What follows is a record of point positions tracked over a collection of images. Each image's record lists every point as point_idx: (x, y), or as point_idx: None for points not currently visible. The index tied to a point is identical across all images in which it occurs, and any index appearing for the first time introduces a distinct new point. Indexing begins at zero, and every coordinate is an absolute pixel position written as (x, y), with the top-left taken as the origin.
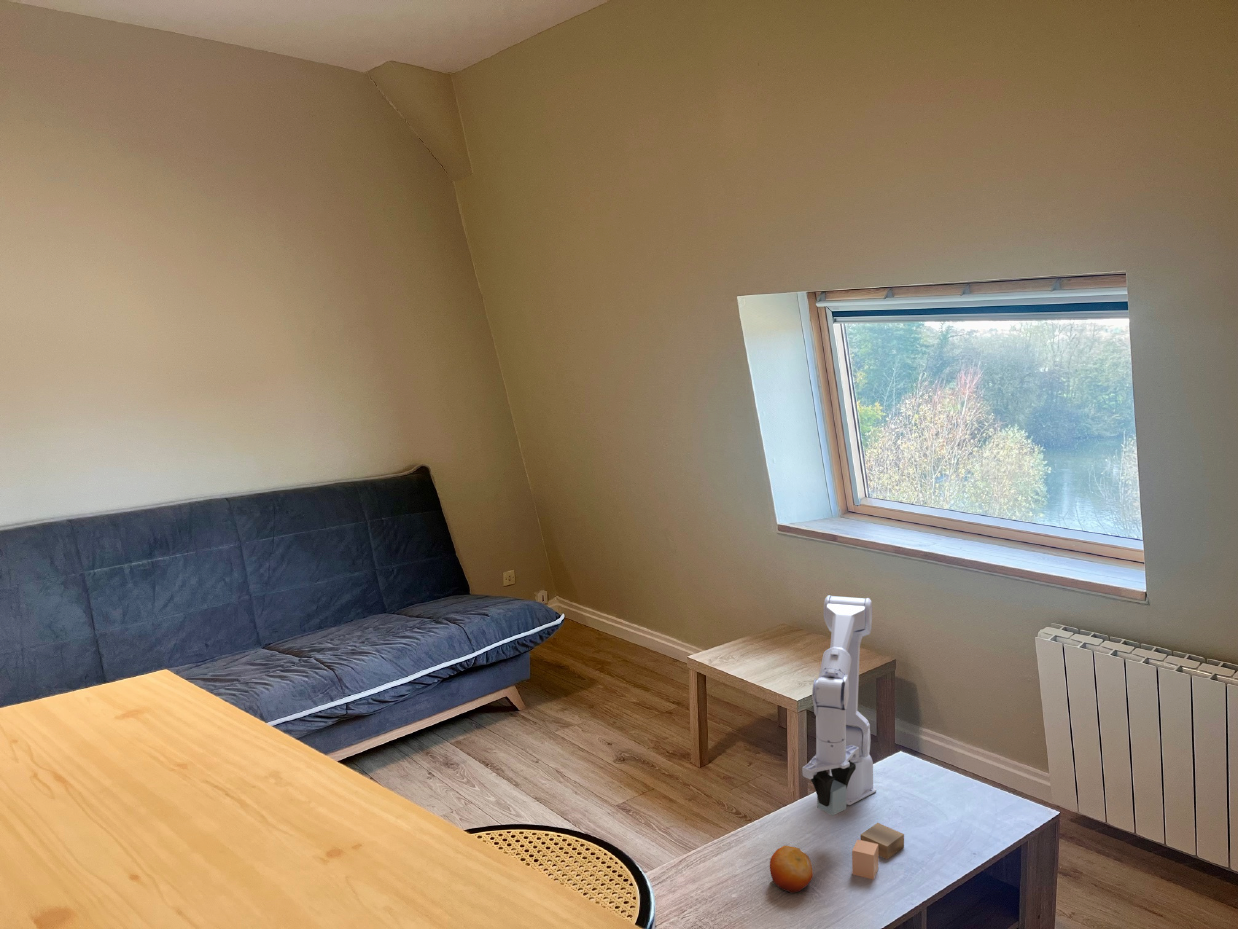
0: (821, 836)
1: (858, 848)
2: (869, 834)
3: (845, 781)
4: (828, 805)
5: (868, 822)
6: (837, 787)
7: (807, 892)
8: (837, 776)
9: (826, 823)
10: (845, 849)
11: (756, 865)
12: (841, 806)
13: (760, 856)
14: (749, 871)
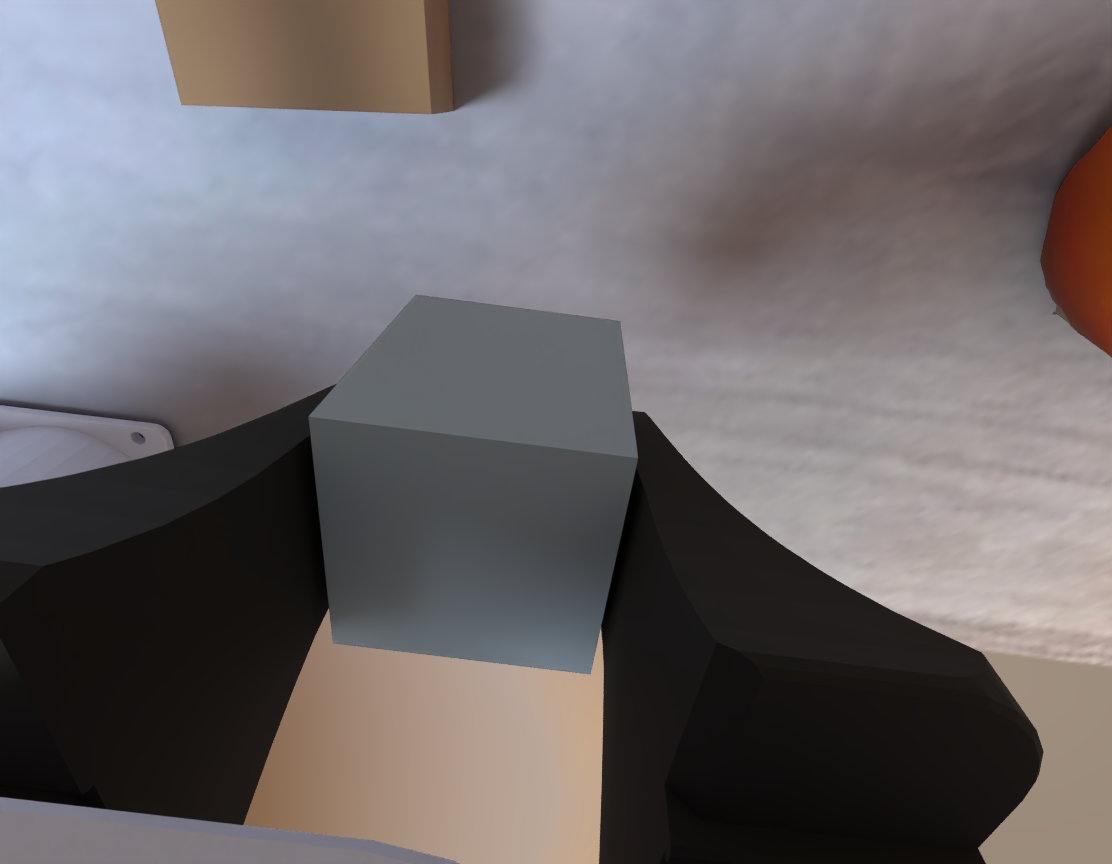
0: None
1: None
2: (373, 47)
3: (270, 468)
4: None
5: (185, 246)
6: (464, 477)
7: None
8: (281, 613)
9: None
10: (552, 178)
11: (1010, 466)
12: (478, 322)
13: (915, 494)
14: (1085, 462)
